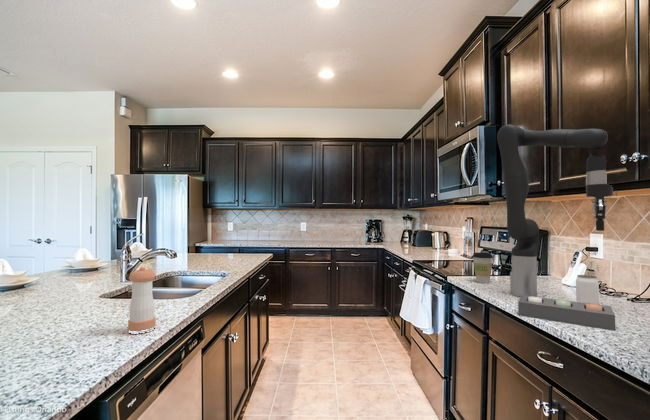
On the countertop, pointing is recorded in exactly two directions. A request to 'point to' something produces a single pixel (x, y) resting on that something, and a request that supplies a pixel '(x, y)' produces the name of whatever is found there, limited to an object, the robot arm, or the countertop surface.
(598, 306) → the button terracotta
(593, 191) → the robot arm
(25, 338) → the countertop surface
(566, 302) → the button sage
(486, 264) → the coffee cup
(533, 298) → the button cream
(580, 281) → the grey block
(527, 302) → the panel
